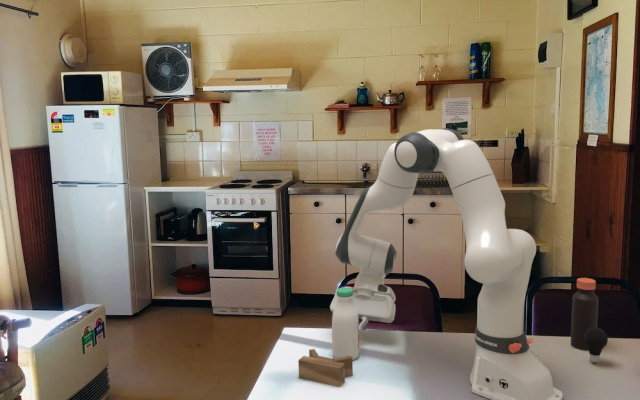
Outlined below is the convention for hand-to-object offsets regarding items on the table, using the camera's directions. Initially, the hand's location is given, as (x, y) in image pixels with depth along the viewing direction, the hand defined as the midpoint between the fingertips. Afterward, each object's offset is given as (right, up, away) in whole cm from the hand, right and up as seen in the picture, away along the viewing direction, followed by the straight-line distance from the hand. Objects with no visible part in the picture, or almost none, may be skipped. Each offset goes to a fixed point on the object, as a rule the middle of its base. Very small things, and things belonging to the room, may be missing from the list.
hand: (356, 330), depth 163 cm
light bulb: (+64, -6, -14) cm, 66 cm away
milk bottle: (-3, -6, -6) cm, 9 cm away
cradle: (-9, -8, -18) cm, 21 cm away
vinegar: (+67, -4, -3) cm, 67 cm away
